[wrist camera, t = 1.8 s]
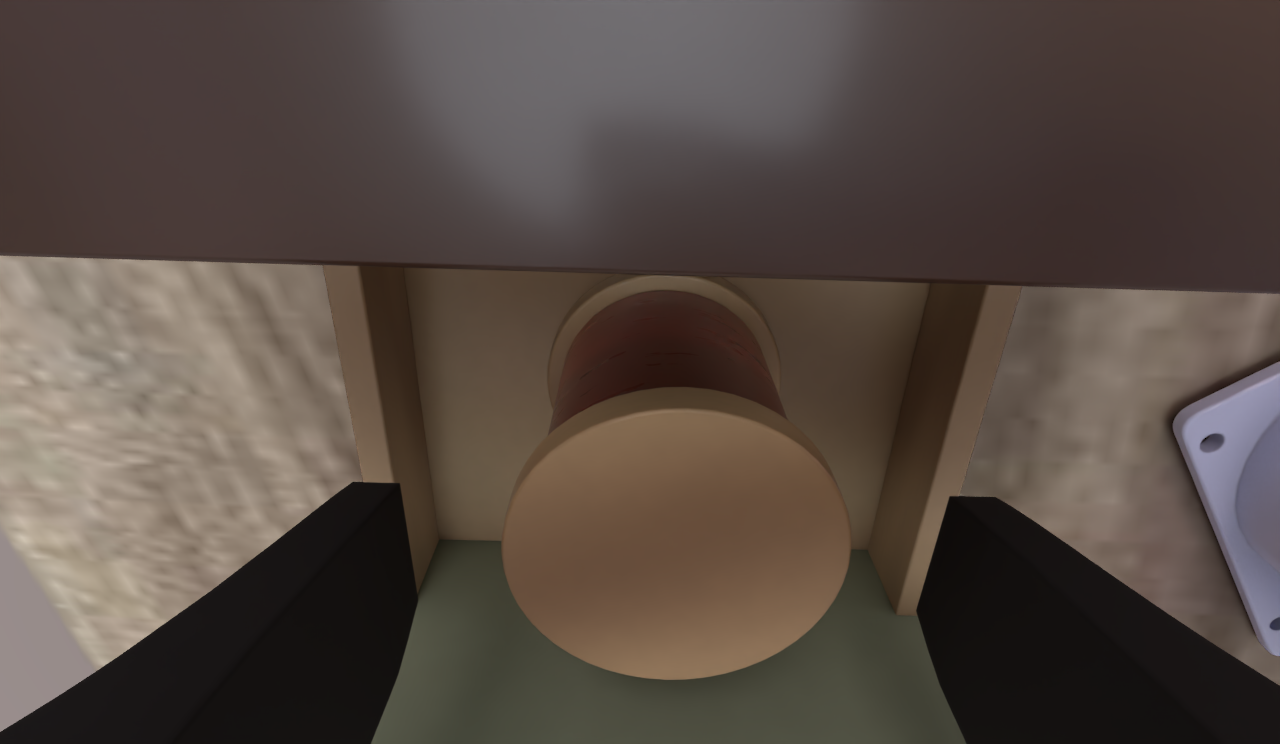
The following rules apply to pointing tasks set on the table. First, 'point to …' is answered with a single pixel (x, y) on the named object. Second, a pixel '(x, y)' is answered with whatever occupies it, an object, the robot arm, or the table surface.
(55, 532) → the table surface
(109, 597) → the table surface
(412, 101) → the cabinet
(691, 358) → the spool
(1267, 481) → the robot arm
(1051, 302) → the table surface
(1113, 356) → the table surface
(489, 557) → the drawer
